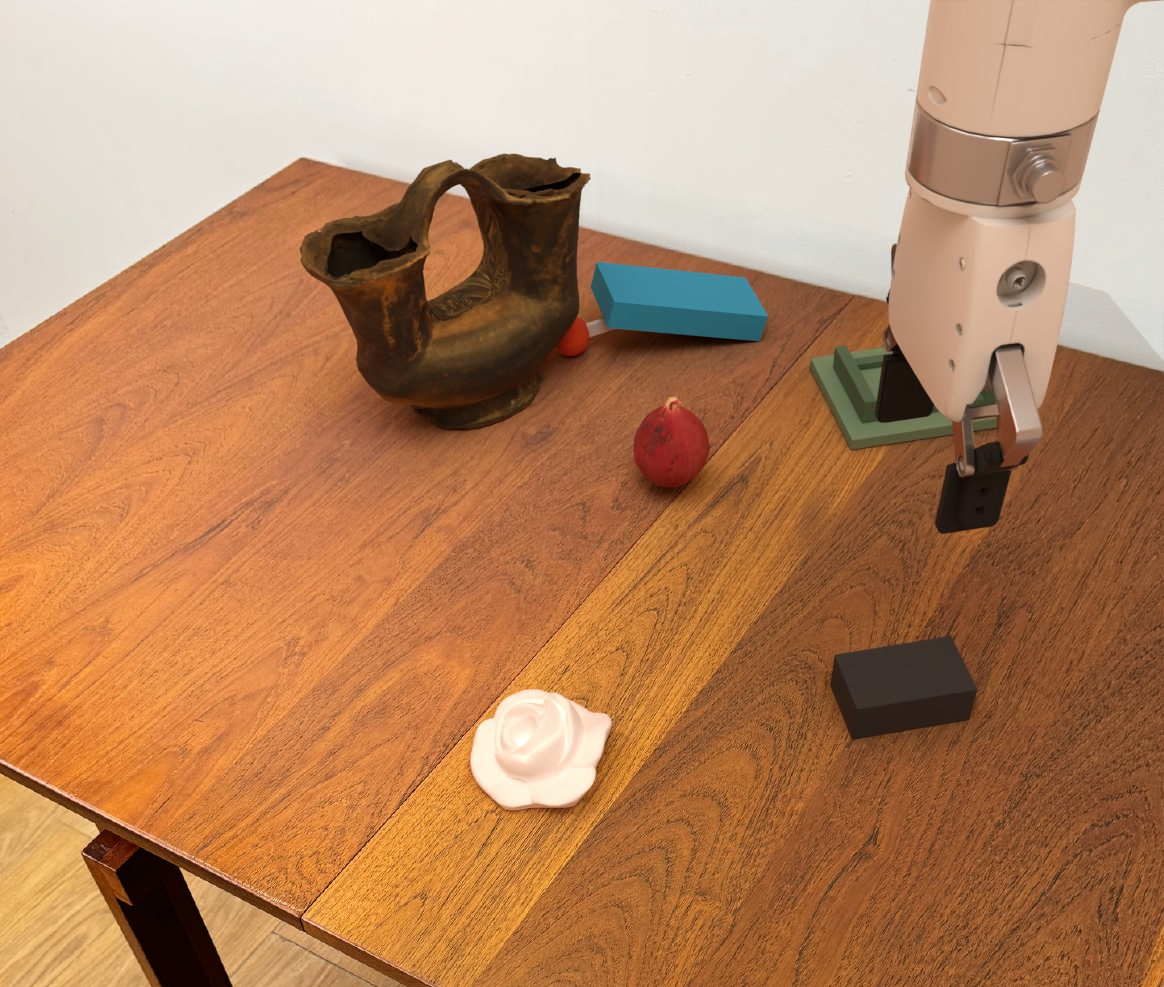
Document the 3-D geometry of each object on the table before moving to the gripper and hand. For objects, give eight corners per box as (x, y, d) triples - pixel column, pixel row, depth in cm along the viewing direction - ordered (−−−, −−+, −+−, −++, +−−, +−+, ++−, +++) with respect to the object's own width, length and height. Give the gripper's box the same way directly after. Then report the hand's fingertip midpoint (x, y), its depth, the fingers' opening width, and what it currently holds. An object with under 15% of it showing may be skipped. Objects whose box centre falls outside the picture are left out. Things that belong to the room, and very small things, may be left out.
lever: (722, 347, 119) (540, 331, 114) (745, 277, 114) (555, 257, 109) (744, 387, 115) (556, 373, 109) (768, 316, 110) (572, 298, 104)
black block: (943, 666, 85) (951, 635, 83) (969, 720, 82) (978, 689, 80) (829, 685, 85) (834, 654, 83) (851, 739, 82) (856, 709, 80)
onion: (675, 519, 97) (675, 432, 91) (619, 490, 99) (616, 403, 93) (722, 482, 99) (725, 395, 93) (667, 454, 102) (666, 368, 96)
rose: (646, 735, 77) (507, 801, 75) (647, 780, 81) (514, 844, 78) (568, 639, 83) (436, 697, 80) (572, 684, 86) (446, 741, 84)
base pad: (965, 344, 109) (971, 313, 107) (1018, 424, 102) (1026, 393, 99) (809, 368, 108) (812, 336, 106) (850, 450, 101) (854, 419, 99)
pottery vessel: (390, 488, 101) (339, 255, 86) (319, 430, 107) (260, 201, 91) (624, 365, 110) (616, 134, 95) (548, 317, 116) (528, 92, 101)
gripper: (1174, 229, 49) (1065, 564, 62) (1006, 54, 60) (944, 371, 73) (988, 254, 48) (919, 586, 62) (853, 73, 59) (819, 389, 72)
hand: (932, 469), depth 67 cm, fingers open, 9 cm apart
